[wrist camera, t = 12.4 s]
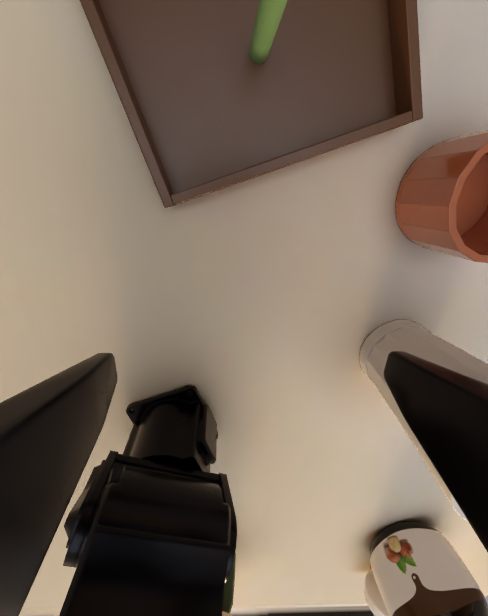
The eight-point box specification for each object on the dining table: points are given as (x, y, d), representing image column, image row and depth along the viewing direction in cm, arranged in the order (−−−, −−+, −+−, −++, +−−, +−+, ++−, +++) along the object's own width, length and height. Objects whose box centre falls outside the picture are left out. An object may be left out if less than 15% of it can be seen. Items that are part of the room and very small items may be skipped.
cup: (379, 298, 23) (526, 397, 12) (455, 326, 25) (644, 435, 14) (334, 375, 26) (421, 514, 15) (405, 396, 27) (531, 534, 16)
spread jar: (434, 508, 35) (530, 649, 24) (441, 555, 39) (525, 693, 28) (342, 537, 36) (395, 687, 25) (359, 580, 40) (410, 723, 29)
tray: (170, 206, 19) (164, 208, 17) (74, -33, 14) (51, -68, 13) (401, 125, 18) (423, 117, 16) (380, -156, 14) (406, -212, 12)
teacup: (400, 259, 22) (450, 278, 17) (390, 159, 19) (447, 148, 14) (492, 229, 22) (570, 240, 17) (496, 122, 19) (591, 99, 14)
